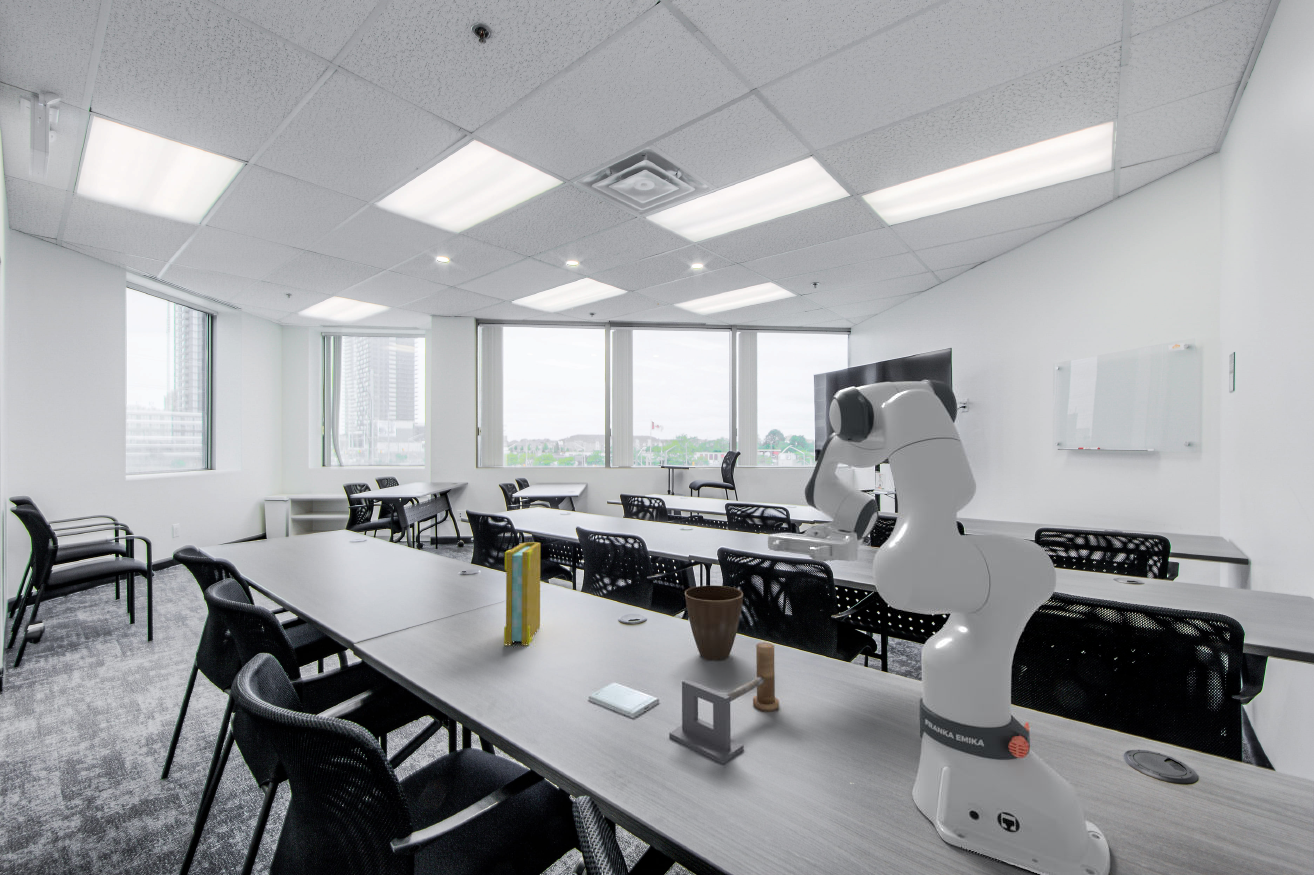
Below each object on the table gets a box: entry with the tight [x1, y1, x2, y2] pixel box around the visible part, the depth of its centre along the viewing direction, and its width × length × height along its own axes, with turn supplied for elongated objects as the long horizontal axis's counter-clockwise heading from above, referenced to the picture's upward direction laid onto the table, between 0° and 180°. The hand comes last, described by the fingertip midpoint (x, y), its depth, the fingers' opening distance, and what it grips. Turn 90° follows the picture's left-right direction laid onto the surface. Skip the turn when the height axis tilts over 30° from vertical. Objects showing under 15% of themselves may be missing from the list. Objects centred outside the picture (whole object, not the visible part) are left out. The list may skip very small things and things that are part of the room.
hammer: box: [725, 642, 780, 712], centre depth 102 cm, size 5×17×12 cm, turn 136°
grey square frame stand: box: [668, 679, 745, 765], centre depth 92 cm, size 12×6×10 cm, turn 46°
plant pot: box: [684, 584, 744, 662], centre depth 133 cm, size 15×15×16 cm
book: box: [503, 541, 541, 646], centre depth 149 cm, size 17×7×25 cm, turn 179°
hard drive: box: [588, 682, 660, 719], centre depth 108 cm, size 2×8×12 cm
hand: (793, 549), depth 116 cm, fingers open, 8 cm apart
